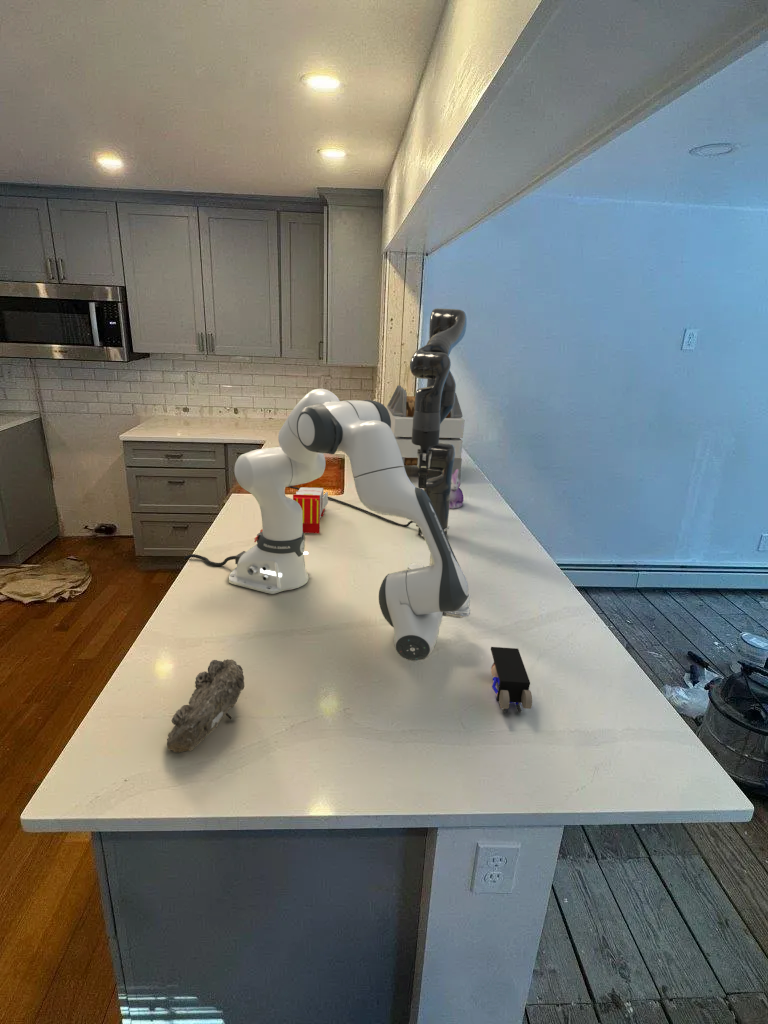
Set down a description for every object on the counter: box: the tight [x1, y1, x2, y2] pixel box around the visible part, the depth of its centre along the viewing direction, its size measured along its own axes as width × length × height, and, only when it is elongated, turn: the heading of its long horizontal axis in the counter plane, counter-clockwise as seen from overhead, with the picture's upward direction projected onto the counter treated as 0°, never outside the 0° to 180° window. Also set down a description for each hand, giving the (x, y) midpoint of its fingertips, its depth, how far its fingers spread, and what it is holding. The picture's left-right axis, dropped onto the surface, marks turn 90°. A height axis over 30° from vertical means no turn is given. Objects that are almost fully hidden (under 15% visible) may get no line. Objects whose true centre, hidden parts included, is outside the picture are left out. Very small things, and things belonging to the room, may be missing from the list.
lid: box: [407, 562, 425, 570], centre depth 170 cm, size 5×5×2 cm
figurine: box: [449, 469, 464, 509], centre depth 229 cm, size 9×10×15 cm
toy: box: [292, 486, 329, 534], centre depth 207 cm, size 12×13×30 cm
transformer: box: [386, 384, 465, 482], centre depth 268 cm, size 34×33×41 cm
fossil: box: [166, 658, 245, 754], centre depth 106 cm, size 22×10×15 cm
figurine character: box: [490, 646, 533, 714], centre depth 117 cm, size 7×8×15 cm
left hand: (431, 583), depth 142 cm, fingers open, 8 cm apart
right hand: (422, 483), depth 161 cm, fingers open, 8 cm apart
